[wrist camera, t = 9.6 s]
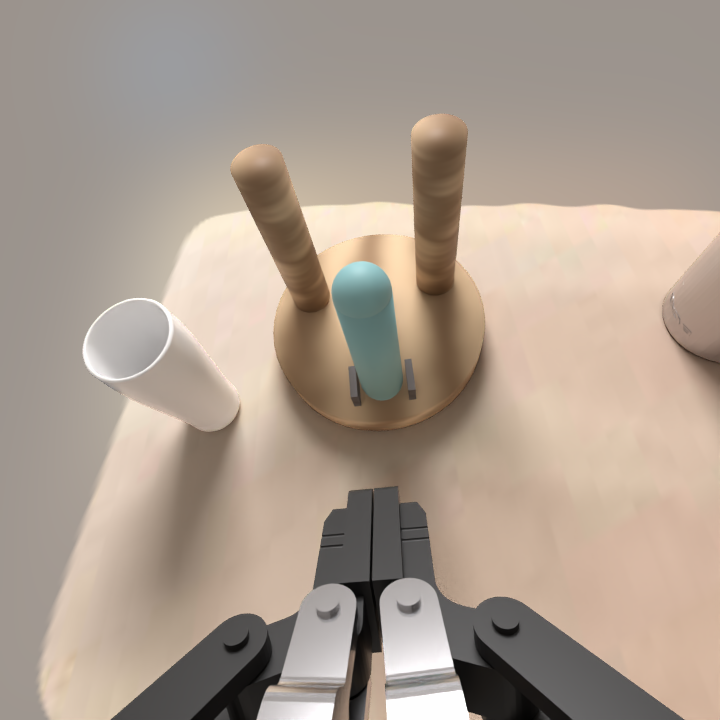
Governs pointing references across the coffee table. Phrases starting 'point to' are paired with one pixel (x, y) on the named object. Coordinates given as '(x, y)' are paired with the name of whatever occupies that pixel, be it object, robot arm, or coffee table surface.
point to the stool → (407, 276)
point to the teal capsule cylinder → (369, 327)
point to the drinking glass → (159, 364)
